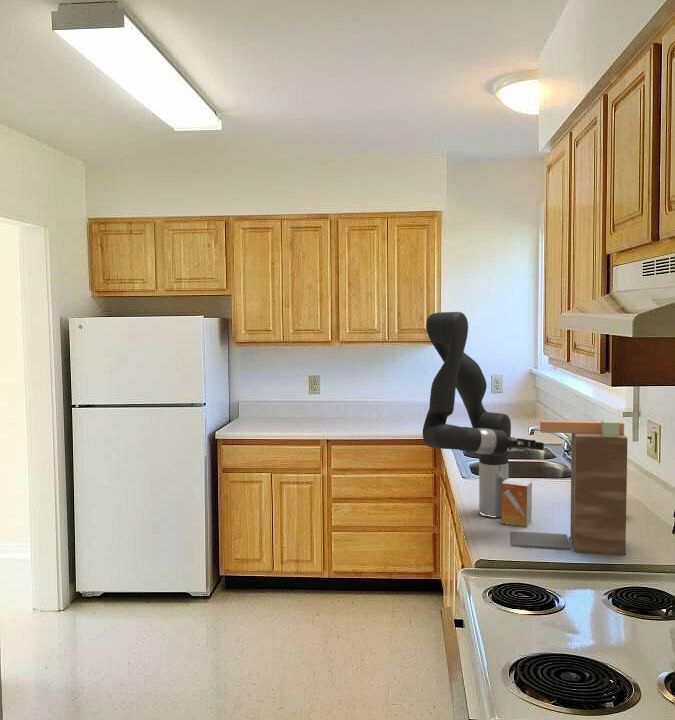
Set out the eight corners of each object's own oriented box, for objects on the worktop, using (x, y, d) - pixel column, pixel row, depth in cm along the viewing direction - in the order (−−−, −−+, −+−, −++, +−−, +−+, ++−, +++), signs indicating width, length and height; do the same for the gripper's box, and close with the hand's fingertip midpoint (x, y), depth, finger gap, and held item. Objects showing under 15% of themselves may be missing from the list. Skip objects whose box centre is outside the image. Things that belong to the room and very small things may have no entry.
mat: (510, 533, 213) (510, 531, 213) (566, 536, 209) (566, 534, 209) (511, 546, 201) (511, 544, 201) (570, 550, 198) (570, 547, 197)
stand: (570, 536, 208) (571, 428, 206) (617, 539, 206) (619, 429, 203) (575, 552, 196) (576, 436, 193) (625, 555, 193) (627, 438, 191)
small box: (500, 524, 222) (501, 482, 221) (506, 518, 227) (506, 478, 226) (527, 527, 218) (527, 485, 217) (532, 522, 223) (532, 481, 222)
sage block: (601, 434, 196) (601, 420, 196) (616, 434, 195) (617, 420, 195) (603, 437, 192) (603, 422, 192) (619, 437, 191) (619, 422, 191)
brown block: (540, 430, 204) (540, 420, 203) (622, 432, 199) (622, 421, 199) (540, 432, 201) (540, 421, 200) (623, 434, 196) (624, 423, 196)
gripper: (502, 427, 203) (549, 433, 209) (475, 430, 217) (520, 435, 222) (501, 454, 202) (548, 459, 208) (474, 455, 215) (519, 459, 221)
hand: (534, 447), depth 215 cm, fingers open, 8 cm apart
